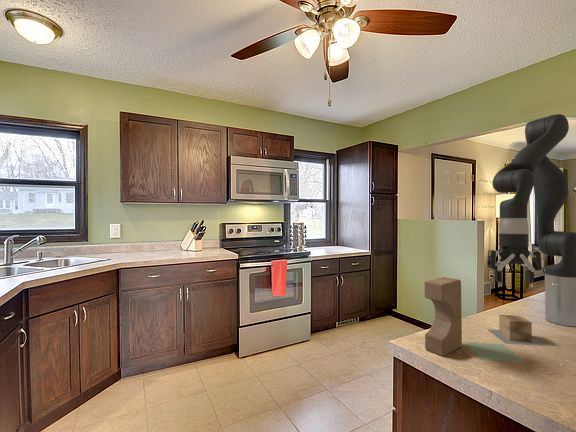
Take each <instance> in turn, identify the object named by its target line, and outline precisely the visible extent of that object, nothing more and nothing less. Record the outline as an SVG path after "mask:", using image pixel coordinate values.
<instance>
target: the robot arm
mask: <svg viewBox="0 0 576 432" xmlns="http://www.w3.org/2000/svg"><path fill="white" fill-rule="evenodd" d="M569 129H570V126H569V120H568V119H567V117H566V116H565V115H564V114H561V113H557V114H551V115H548V116H544V117H541V118H537V119H534V120H531V121H529V122H527V123H526V124H525V127H524V136H525V137H524V138H525V142H526V146H525V147H522V149H520V150H519V151H518V153H516V155H515V156H514V158H513V159H512V161H511V162H510V163H508V164H507V165H504V166H503V167H502V168H501V169H500V170H499V171H497V172H496V173H495V175H494V176H493V178H492V179H493V180H492V183H491V184H492V188H493V189H494V191H496V192H497V193H500V194H501V193H502V194H507V193H515V195H514V196H513V197H511V198H510V199H504V200H503V201H501V202H500V203H499V220H498V221H499V222H498V246H499V247H498V250H493V249H489V250H488V251H487V263H486V264H487V265H486V266H487V268H489V269H492V270H494V271H493V274H494V275H493V278H494V281H496V282H497V283H498V284H502V283H503V271H502V270H503V269H504V268H505V267H507V265H515V264H516V265H521V267H523V268H524V269H525V283H526V284H529V285H530V284H531V285H532V284H533V283H534V282H535V273H536V272H537V271H541V270H542V269H543V268H542V255H541V253H542V254H543V255H545V256H553V257H561V260H560V262H558V263H554V264H548V265H546V266H545V267H544V303H545V313H544V315H545V320H546V321H548V322H550V323H551V324H552V323H553V324H556V325H559V326H566V327H576V232H575V231H562V230H561V231H559V230H558V231H557V230H556V229H555V220H556V217H557V215H558V213H559V212H560V210H561V209H562V207H563V206H564V205H565V203H566V201H567V199H568V197H569V184H568V183H569V182H568V177H567V175H566V174H565V172H563V170H562V169H560V167H559V166H557V165H556V164H555V163H554V162H552V160H551V159H550V158H549V157H548V155H549V153H550V152H552V150H553V149H554V148H556V147H557V145H558V144H559V143H560V142H562V141H563V140H564V139H565V138H566V137H567V135H568V134H569ZM532 192H534V199H535V207H536V216H537V244H538V249H539V250H529V246H530V244H529V243H530V242H529V241H530V239H529V234H530V233H529V232H530V229H529V228H530V227H529V222H528V204H529V201H530V197H531V194H532ZM498 255H499V257H500V258H499V259H498V260H497V257H498ZM529 257H530V258H531V262H530V261H529V260H528V258H529ZM496 260H497V261H496Z"/></svg>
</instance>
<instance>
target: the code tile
mask: <svg viewBox="0 0 576 432" xmlns="http://www.w3.org/2000/svg"><path fill="white" fill-rule="evenodd" d="M487 331H489V332H490V333H491V334H492V335H494V336H495V337H496V338H497V339H499V340H501V342H503V343H504V344H510V345H526V346H539V347H540V346H541V347H547V344H545V343H544V342H541V341H540V340H538V339H536V338H534V337H533V336H532V342H528V341H512V340H509V339H507V338H506V337H505V336H503V335H502V334H500V333H499V329H487Z"/></svg>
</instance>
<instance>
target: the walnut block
mask: <svg viewBox="0 0 576 432" xmlns="http://www.w3.org/2000/svg"><path fill="white" fill-rule="evenodd" d="M498 323H499V324H498V327H499V329H498V330H499V333H500V334H502V335H503V336H505V337H506V338H507V339H509V340H512V341H528V342H532V337H533V335H532V334H533V332H532V331H533V329H532V328H533V327H532V321H530V320H528V319H526V318H524V317H523V316H521V315H514V314H512V315H510V314H499V315H498Z"/></svg>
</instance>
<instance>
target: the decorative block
mask: <svg viewBox="0 0 576 432" xmlns="http://www.w3.org/2000/svg"><path fill="white" fill-rule="evenodd" d="M423 287H424V298H425V299H428V300H430V301H431V302H432V304H433V306H434V319H433V322H432V325H431V327H430V328H429V330H428V331H427V332H426V333H424V349H425V350H426V351H427V352H430V353H433V354H436V355H437V356H440V357H445V356H446V355H448V354H450V353H452V352H454V351H456V350H458V349H459V348H461V347H462V346H463V333H462V332H463V331H462V328H463V327H462V325H463V324H462V322H463V321H462V280H461V279H457V278H450V277H447V276H445V277H444V276H442V277H438V278H433V279H431V280H425V281H424V286H423Z"/></svg>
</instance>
